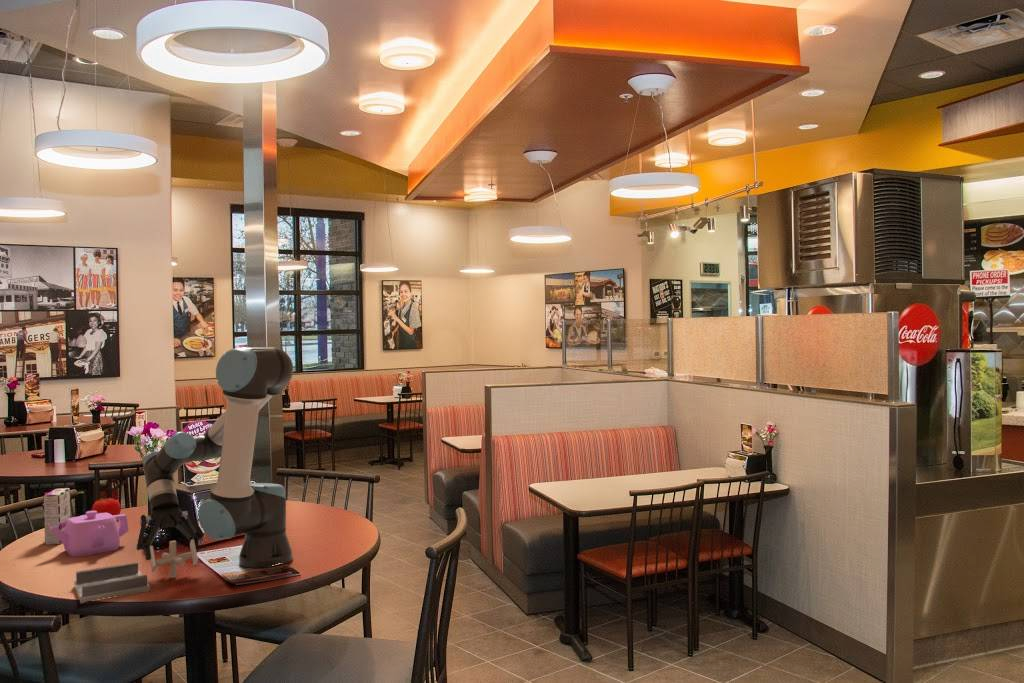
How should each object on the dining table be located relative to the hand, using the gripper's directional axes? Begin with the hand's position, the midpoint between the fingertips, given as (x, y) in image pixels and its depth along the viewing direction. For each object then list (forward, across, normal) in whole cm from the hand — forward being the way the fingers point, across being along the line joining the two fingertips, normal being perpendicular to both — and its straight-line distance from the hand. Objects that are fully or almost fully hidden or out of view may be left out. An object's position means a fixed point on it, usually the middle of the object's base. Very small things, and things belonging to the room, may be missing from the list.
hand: (175, 565), depth 213 cm
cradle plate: (+1, +16, -4) cm, 16 cm away
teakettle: (-31, +16, -37) cm, 50 cm away
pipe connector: (+1, 0, -5) cm, 5 cm away
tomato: (-60, +6, -66) cm, 90 cm away
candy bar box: (-45, +23, -51) cm, 72 cm away
